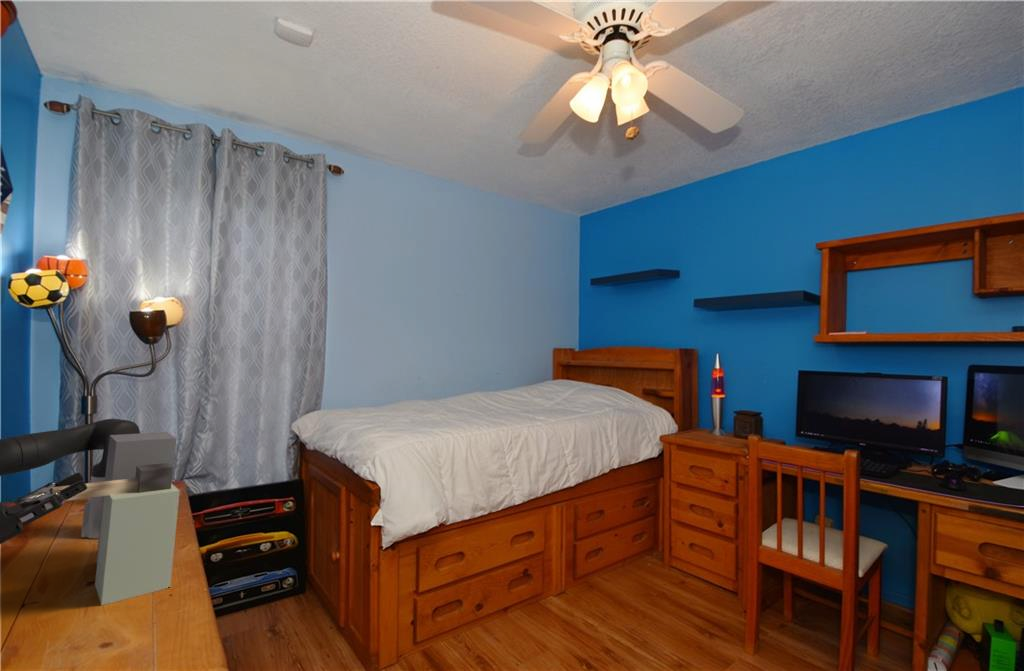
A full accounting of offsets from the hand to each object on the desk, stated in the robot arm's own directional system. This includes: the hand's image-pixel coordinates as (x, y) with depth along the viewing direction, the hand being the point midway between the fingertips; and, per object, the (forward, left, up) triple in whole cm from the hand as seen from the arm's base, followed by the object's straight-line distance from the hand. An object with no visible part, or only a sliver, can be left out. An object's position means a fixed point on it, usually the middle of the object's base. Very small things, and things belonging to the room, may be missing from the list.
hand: (83, 479), depth 100 cm
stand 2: (+9, +5, -26) cm, 28 cm away
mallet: (+5, +3, -4) cm, 7 cm away
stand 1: (+3, +19, -26) cm, 32 cm away
